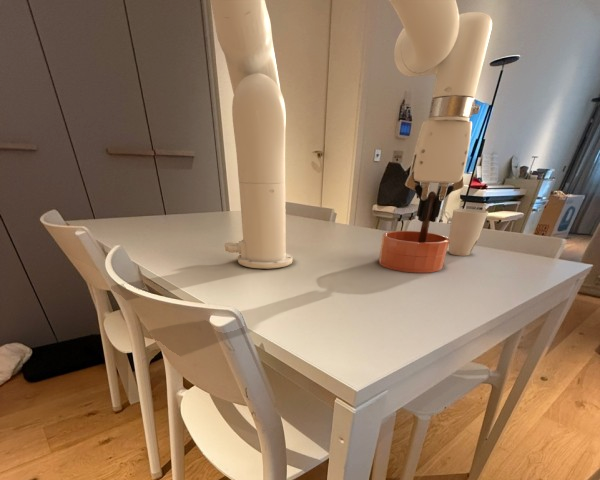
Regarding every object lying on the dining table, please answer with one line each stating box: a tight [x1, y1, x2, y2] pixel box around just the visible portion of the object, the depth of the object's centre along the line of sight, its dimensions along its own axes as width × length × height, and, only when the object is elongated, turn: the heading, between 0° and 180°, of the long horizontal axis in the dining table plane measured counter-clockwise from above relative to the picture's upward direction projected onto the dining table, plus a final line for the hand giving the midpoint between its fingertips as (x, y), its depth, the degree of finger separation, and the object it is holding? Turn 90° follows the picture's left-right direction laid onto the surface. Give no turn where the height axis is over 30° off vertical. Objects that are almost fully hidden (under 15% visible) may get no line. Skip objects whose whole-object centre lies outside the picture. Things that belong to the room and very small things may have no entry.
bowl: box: [378, 230, 449, 274], centre depth 77 cm, size 14×14×6 cm
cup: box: [448, 208, 489, 257], centre depth 86 cm, size 8×8×10 cm
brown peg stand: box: [418, 190, 436, 242], centre depth 75 cm, size 5×5×13 cm
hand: (426, 220), depth 74 cm, fingers closed on brown peg stand
